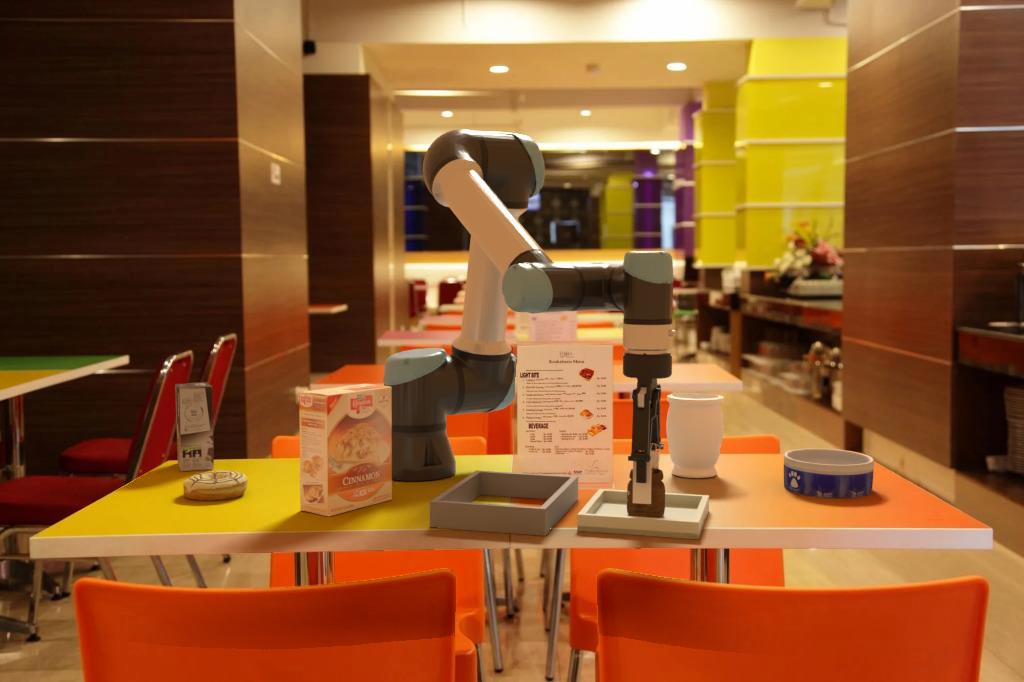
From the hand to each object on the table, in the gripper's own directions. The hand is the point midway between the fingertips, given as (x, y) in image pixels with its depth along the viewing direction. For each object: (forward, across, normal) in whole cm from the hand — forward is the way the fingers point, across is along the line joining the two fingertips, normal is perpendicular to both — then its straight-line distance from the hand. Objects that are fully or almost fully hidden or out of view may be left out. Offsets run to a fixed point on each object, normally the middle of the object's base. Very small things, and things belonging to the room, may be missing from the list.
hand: (645, 496), depth 164 cm
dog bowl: (+4, +31, -28) cm, 42 cm away
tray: (+4, 0, 0) cm, 4 cm away
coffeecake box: (+4, -3, +49) cm, 49 cm away
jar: (+4, +37, -4) cm, 37 cm away
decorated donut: (+4, -2, +74) cm, 74 cm away
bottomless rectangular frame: (+4, -1, +22) cm, 22 cm away
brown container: (+3, 0, 0) cm, 3 cm away
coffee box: (+4, +19, +91) cm, 93 cm away
